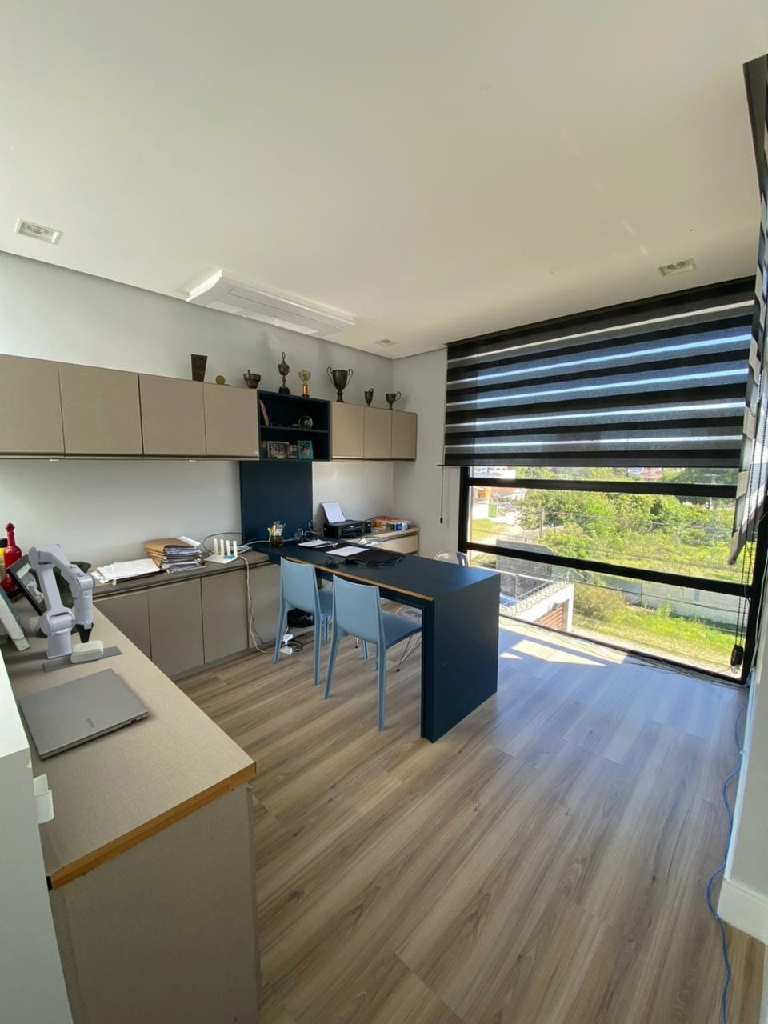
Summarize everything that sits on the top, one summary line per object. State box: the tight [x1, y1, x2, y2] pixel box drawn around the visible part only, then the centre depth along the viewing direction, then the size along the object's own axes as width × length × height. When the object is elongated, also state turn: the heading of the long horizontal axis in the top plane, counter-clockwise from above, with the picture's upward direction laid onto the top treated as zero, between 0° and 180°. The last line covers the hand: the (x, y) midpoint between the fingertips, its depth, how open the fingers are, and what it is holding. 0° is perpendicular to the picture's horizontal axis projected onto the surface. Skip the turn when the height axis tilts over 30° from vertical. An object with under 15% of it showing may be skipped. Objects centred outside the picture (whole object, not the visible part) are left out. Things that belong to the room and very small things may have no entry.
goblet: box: [27, 561, 92, 638], centre depth 191 cm, size 22×23×30 cm
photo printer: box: [70, 640, 104, 663], centre depth 165 cm, size 10×4×12 cm
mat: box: [42, 645, 123, 673], centre depth 164 cm, size 10×24×1 cm, turn 135°
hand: (84, 642), depth 160 cm, fingers closed
